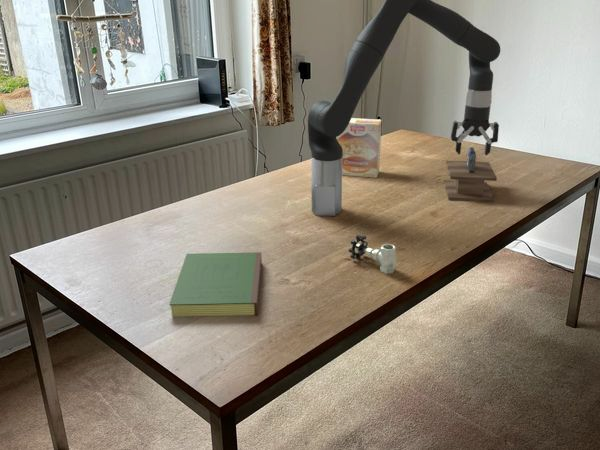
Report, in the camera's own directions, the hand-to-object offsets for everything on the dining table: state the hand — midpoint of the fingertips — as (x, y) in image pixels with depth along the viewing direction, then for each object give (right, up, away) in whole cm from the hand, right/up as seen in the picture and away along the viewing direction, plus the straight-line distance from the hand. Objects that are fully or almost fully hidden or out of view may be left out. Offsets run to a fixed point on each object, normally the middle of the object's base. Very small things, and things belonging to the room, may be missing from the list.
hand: (472, 154), depth 192 cm
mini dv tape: (0, -5, +2) cm, 5 cm away
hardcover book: (-74, -38, -51) cm, 98 cm away
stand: (0, -12, +5) cm, 13 cm away
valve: (-37, -33, -41) cm, 64 cm away
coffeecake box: (-35, -4, +24) cm, 42 cm away
